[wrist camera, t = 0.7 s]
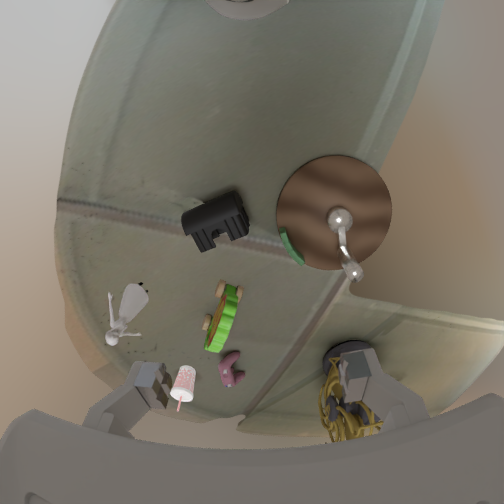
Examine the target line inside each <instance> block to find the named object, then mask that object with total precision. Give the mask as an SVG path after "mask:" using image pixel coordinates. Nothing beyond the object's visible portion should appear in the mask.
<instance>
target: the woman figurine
mask: <svg viewBox="0 0 504 504" xmlns="http://www.w3.org/2000/svg"><path fill="white" fill-rule="evenodd" d="M142 284H143V283H142V282H140V283H138V284H132V283H130V284H129V285H128V286H126V289H125V291H124V294H123V297H122V301H121V305H120V309H119V317H120V318H119V319H118V320H117V321H114V316H113V309H112V305H111V299H112V296H111V295H110V293H108V298H109V307H110V308H109V309H110V317H111V323H110V326H111V328H112V329H111V330H109V331H107V332H106V336H105V338H106V341H107V343H108V344H110V345H112V346H113V345H116V344H117V343H118V341H119V340H118V339H119V336H120V337H122V336H124V335H135V336H140V335H142V334H139V333H137V334H134V333H130V332H124V330H125V329H126V328H127V326H126V323H127V322H130V321H131V320H132V319H133V318H134V317H135V316H136V315H137V314H138V313H139V312H140V311H141V310H142V308H143V307H144V306H145V305H146V304H147V302H148V295H147V292H148V290H144V289H143V288H142V287H141V285H142ZM125 326H126V327H125ZM140 333H141V332H140Z"/></svg>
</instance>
